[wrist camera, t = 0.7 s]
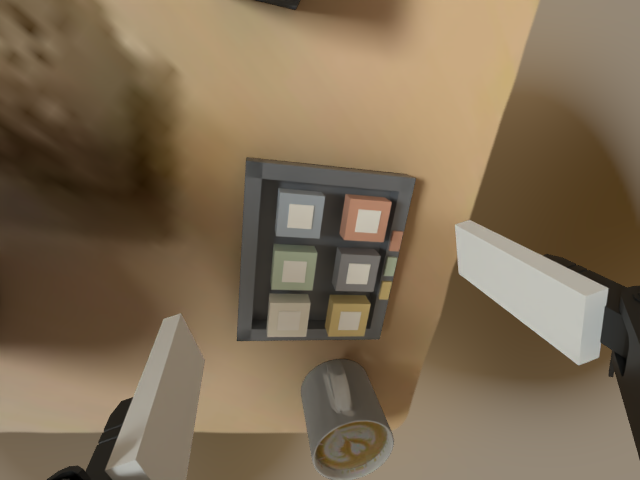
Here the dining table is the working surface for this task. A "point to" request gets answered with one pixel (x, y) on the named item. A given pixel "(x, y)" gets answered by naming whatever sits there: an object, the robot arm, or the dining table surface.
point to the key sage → (293, 267)
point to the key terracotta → (364, 218)
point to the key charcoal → (355, 269)
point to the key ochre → (347, 315)
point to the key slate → (299, 213)
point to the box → (283, 3)
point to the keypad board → (314, 241)
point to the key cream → (288, 315)
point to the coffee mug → (344, 421)
